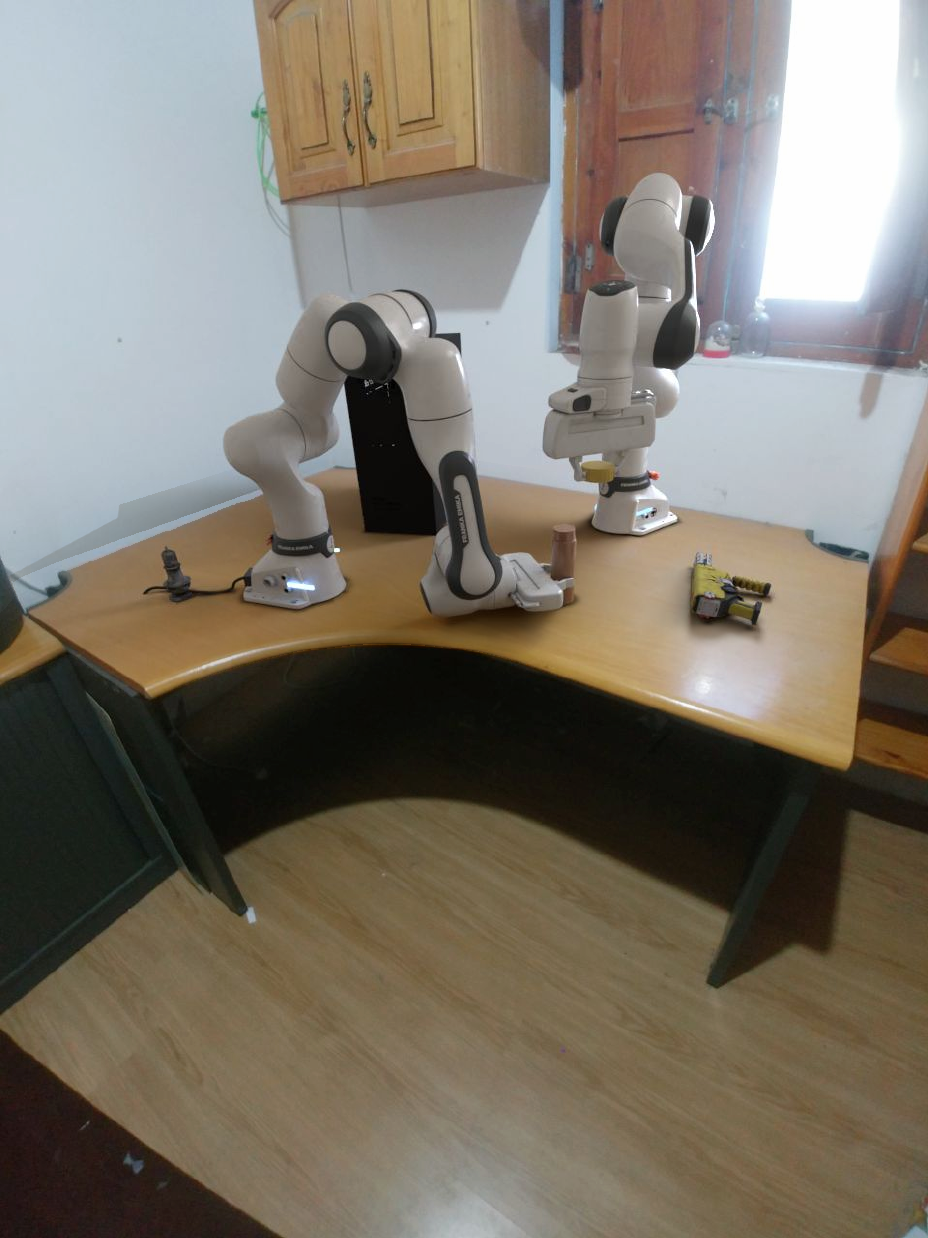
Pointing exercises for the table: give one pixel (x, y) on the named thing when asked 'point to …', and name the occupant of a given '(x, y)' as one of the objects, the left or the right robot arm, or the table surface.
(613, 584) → the table surface
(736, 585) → the toy gun
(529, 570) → the left robot arm
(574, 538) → the jar
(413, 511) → the black computer case
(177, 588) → the grey chess piece
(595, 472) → the lid
